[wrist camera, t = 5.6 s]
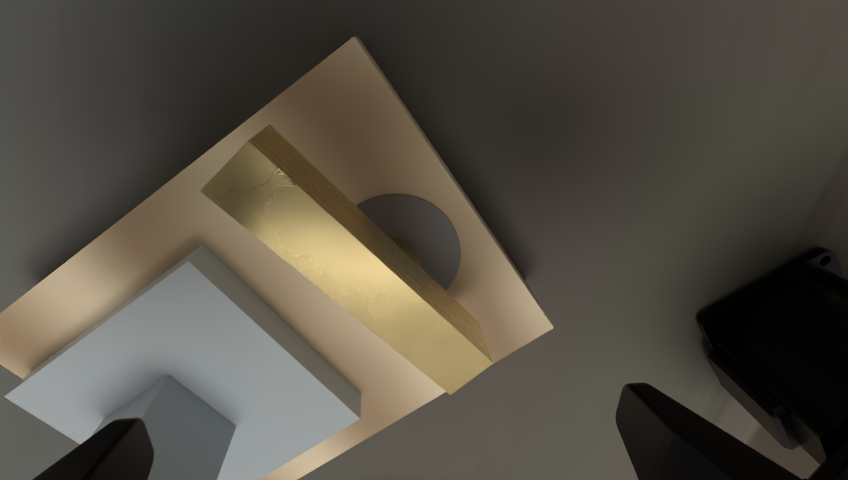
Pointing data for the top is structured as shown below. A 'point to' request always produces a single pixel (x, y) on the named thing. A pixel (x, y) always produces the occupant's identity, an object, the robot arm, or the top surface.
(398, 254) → the tan wooden bar
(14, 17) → the top surface
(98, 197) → the top surface
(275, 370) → the lid
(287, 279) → the birch box
